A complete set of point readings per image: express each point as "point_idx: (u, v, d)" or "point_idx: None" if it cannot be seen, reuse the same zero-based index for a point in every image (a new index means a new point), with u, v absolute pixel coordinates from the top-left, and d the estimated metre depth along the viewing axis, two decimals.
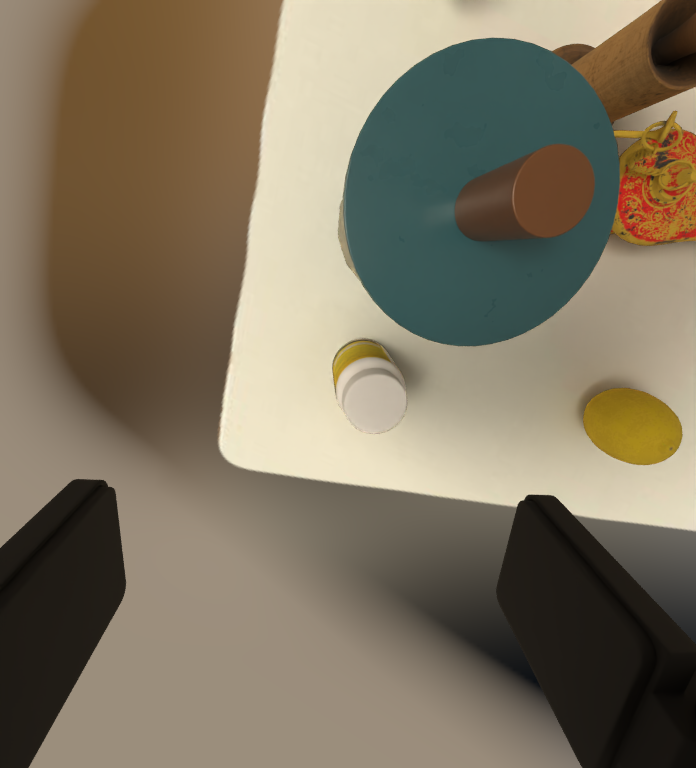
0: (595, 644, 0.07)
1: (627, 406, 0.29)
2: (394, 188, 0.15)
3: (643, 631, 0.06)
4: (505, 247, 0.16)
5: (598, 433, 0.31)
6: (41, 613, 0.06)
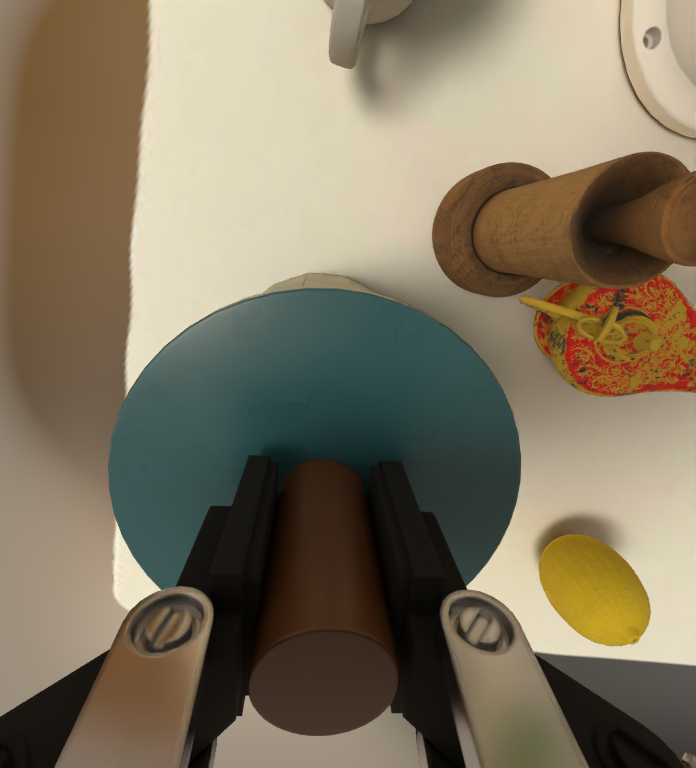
0: (387, 580, 0.08)
1: (584, 575, 0.24)
2: (183, 479, 0.10)
3: (407, 563, 0.07)
4: None
5: (552, 597, 0.26)
6: (265, 557, 0.08)
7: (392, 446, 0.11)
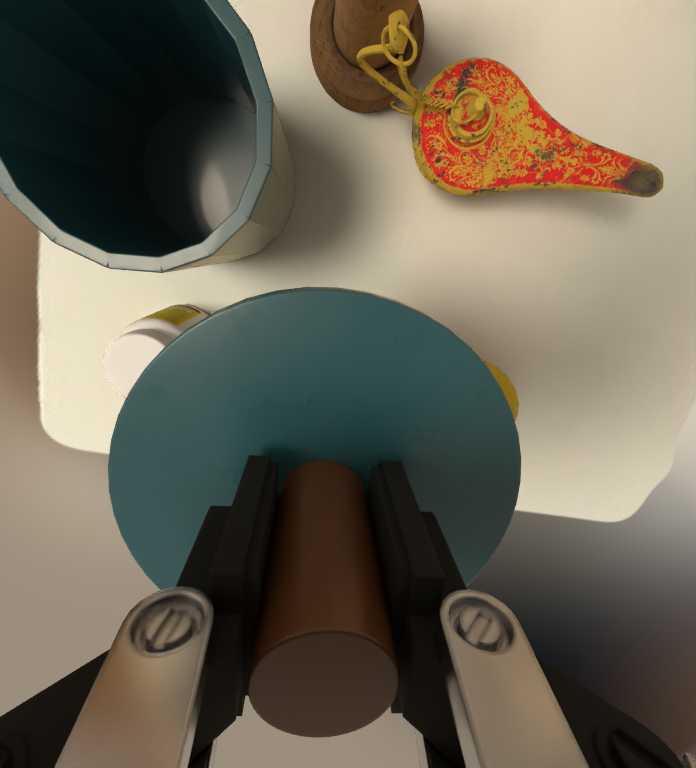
0: (387, 580, 0.07)
1: None
2: (183, 480, 0.10)
3: (407, 562, 0.07)
4: None
5: None
6: (265, 556, 0.08)
7: (392, 447, 0.11)
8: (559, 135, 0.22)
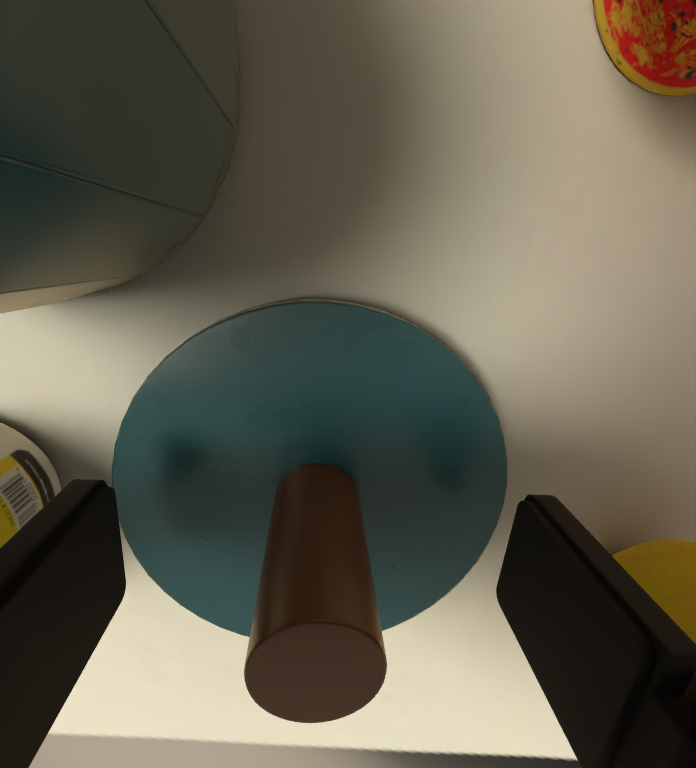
0: (595, 644, 0.07)
1: None
2: (184, 483, 0.11)
3: (642, 631, 0.06)
4: None
5: None
6: (41, 613, 0.06)
7: (383, 451, 0.11)
8: None
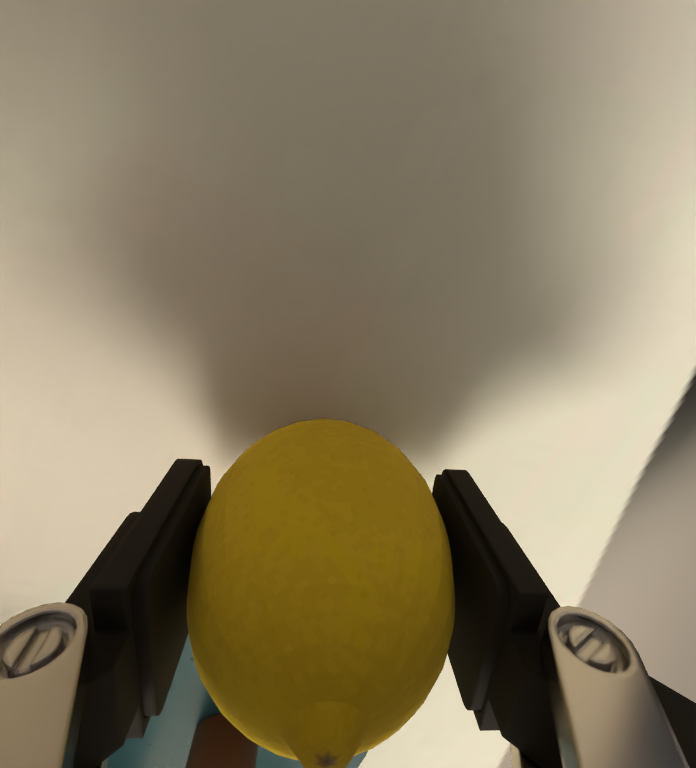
0: (474, 594, 0.07)
1: None
2: None
3: (503, 578, 0.07)
4: None
5: None
6: (176, 567, 0.07)
7: (179, 702, 0.14)
8: None
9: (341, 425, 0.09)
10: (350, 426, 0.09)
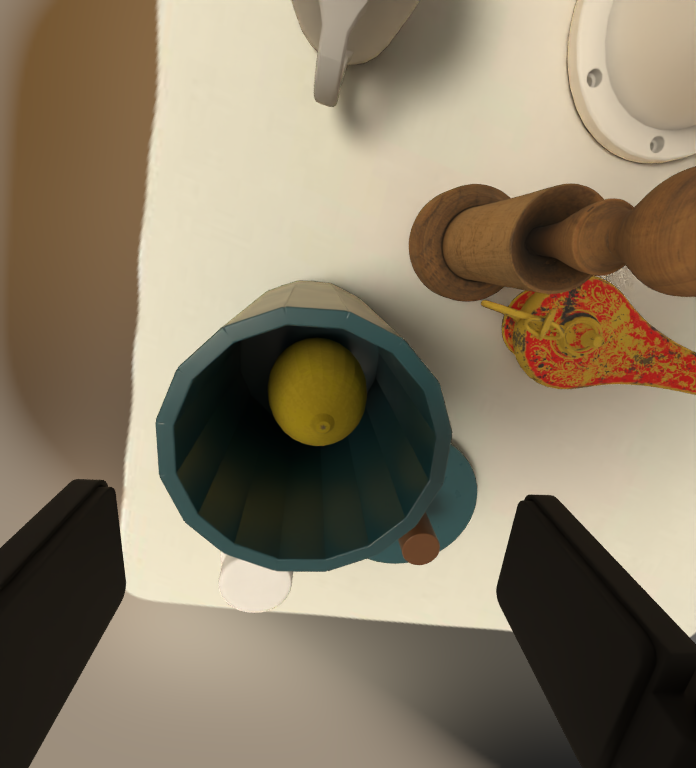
0: (595, 644, 0.07)
1: None
2: None
3: (642, 631, 0.06)
4: None
5: None
6: (41, 613, 0.06)
7: None
8: (658, 343, 0.23)
9: (325, 339, 0.22)
10: (329, 340, 0.22)
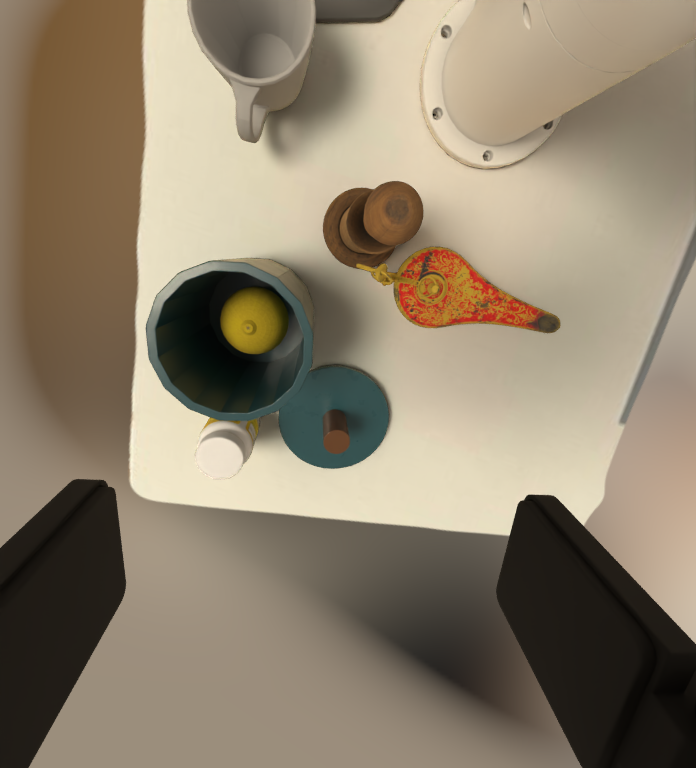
0: (595, 644, 0.07)
1: None
2: (298, 415, 0.40)
3: (642, 631, 0.06)
4: None
5: None
6: (41, 613, 0.06)
7: (352, 405, 0.40)
8: (491, 293, 0.34)
9: None
10: None
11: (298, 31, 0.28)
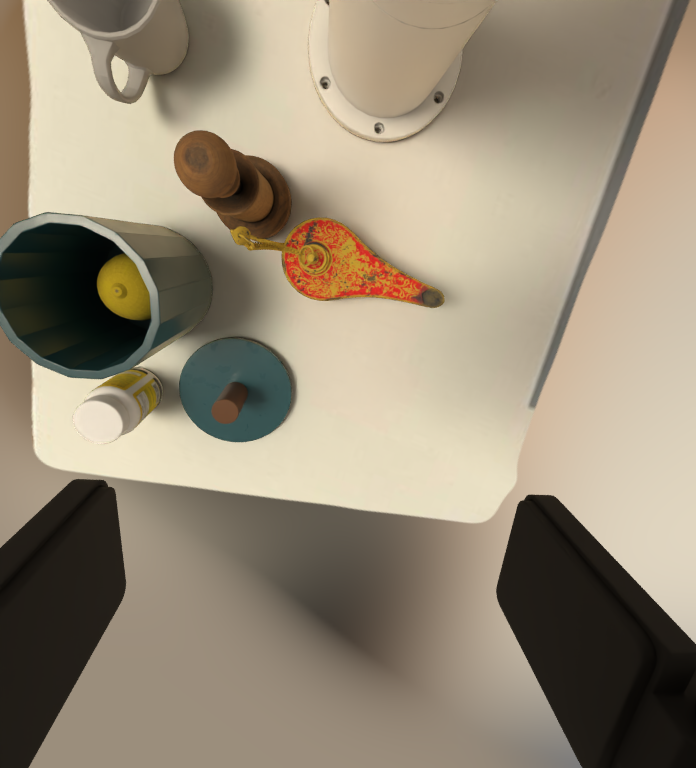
0: (595, 644, 0.07)
1: None
2: (198, 387, 0.40)
3: (642, 631, 0.06)
4: (247, 405, 0.41)
5: (145, 319, 0.34)
6: (41, 613, 0.06)
7: (253, 378, 0.40)
8: (378, 266, 0.34)
9: None
10: None
11: None
